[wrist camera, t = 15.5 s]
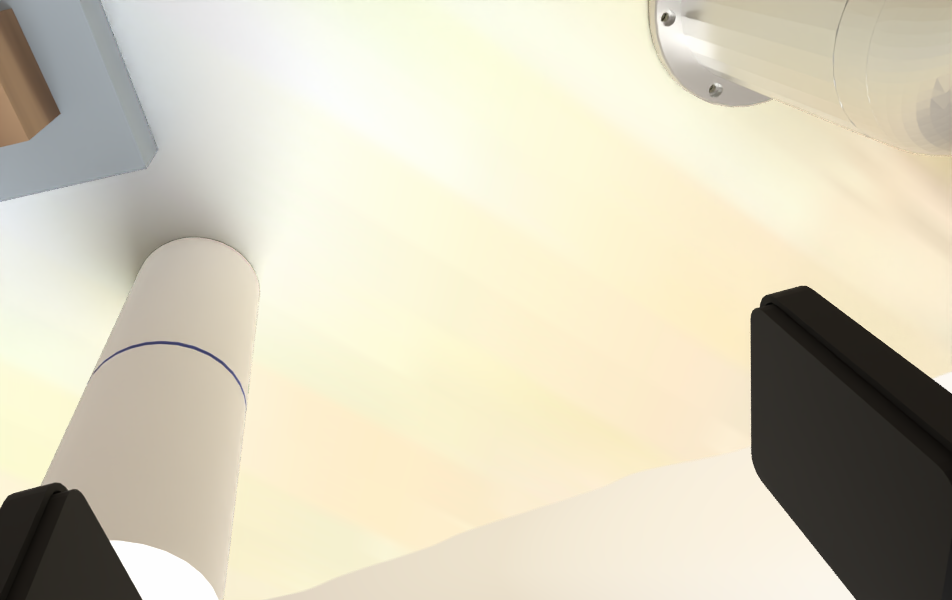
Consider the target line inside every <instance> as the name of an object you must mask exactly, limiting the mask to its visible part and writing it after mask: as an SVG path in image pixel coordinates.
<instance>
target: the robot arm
mask: <svg viewBox="0 0 952 600" xmlns="http://www.w3.org/2000/svg"><path fill="white" fill-rule="evenodd" d="M664 12H665V14H666V17H665V19H664V20H663V21H661V17H662V15H663V13H664ZM649 21H650V29H651V34H652V39H653V44H654V47H655V49H656V52H657V54H658V56H659V59H660V61H661V63H662V65H663V66H664V68H665V69H666V71H667V72H668V73H669V75H670V76H671V78H672V79H673V80H674V81H675V82H677V83H678V84H679V85H680V86H681V87H682V88H683V89H684V90H686V91H687V92H689V93H691V94H693V95H694V96H696V97H698V98H700V99H702V100H704V101H707V102H709V103H712V104H716V105H721V106H727V107H748V106H753V105H757V104H761V103H765V102H768V101H770V100H773V99H775V100H777V101H779V102H782V103H784V104H787V105H789V106H792V107H794V108H797V109H799V110H801V111H804V112H806V113H809V114H811V115H814V116H816V117H819V118H821V119H823V120H826V121H828V122H831V123H833V124H836V125H838V126H841V127H843V128H846V129H848V130H850V131H853V132H855V133H858V134H860V135H863V136H865V137H868V138H870V139H873V140H876V141H878V142H881V143H884V144H886V145H889V146H891V147H894V148H896V149H899V150H902V151H906V152H910V153H914V154H919V155H928V156H952V0H649ZM711 86H712V89H711V90H710V91H709V89H710V87H711ZM751 454H752V461H753V464H754V468H755V470H756V472H757V474H758V476H759V478H760V479H761V481H762V482H763V483H764V485H765V486H766V487H767V489H768V490H769V491H770V492H771V493H772V495H773V496H774V497H775V499H776V500H777V501H778V502H779V503H780V505H781V506H782V507H783V508H784V510H785V511H786V512H787V513H788V515H789V516H790V517H791V519H792V520H793V521H794V522H795V523H796V525H797V526H798V527H799V529H800V530H801V531H802V532H803V533H804V535H805V536H806V537H807V539H808V540H809V541H810V542H811V544H812V545H813V546H814V547H815V549H816V550H817V551H818V552H819V554H820V555H821V556H822V557H823V559H824V560H825V561H826V562H827V564H828V565H829V566H830V567H831V569H832V570H833V571H834V572H835V574H836V575H837V576H838V577H839V579H840V580H841V581H842V583H843V584H844V585H845V586H846V588H847V589H848V590H849V591H850V593H851V594H852V595H853V596H854V598H855V599H856V600H952V394H951V393H950V392H949V391H947V390H946V389H944V388H943V387H942V386H941V385H939V384H938V383H937V382H935V381H934V380H933V379H931V378H930V377H929V376H927V375H926V374H925V373H923V372H922V371H921V370H919V369H918V368H917V367H915V366H914V365H913V364H911V363H910V362H909V361H907V360H906V359H905V358H903V357H902V356H901V355H899V354H898V353H897V352H895V351H894V350H893V349H891V348H890V347H889V346H887V345H886V344H885V343H883V342H882V341H881V340H879V339H878V338H877V337H875V336H874V335H873V334H871V333H870V332H869V331H867V330H866V329H865V328H863V327H862V326H861V325H859V324H858V323H857V322H855V321H854V320H853V319H851V318H850V317H849V316H847V315H846V314H845V313H843V312H842V311H841V310H839V309H838V308H837V307H835V306H834V305H833V304H831V303H830V302H829V301H827V300H826V299H825V298H823V297H822V296H821V295H819V294H818V293H817V292H815V291H814V290H813V289H811V288H809V287H807V286H799V287H795V288H791V289H788V290H784V291H780V292H776V293H772V294H769V295H766V296H764V297H763V298H762V301H761V303H760V307H759V308H756V309H754V310H753V311H752V314H751ZM0 600H143V599H142V598H141V596H140V594H139V592H138V590H137V589H136V587H135V585H134V583H133V582H132V580H131V578H130V576H129V574H128V573H127V571H126V569H125V567H124V566H123V564H122V562H121V560H120V559H119V557H118V555H117V553H116V551H115V550H114V548H113V546H112V544H111V543H110V541H109V539H108V537H107V536H106V534H105V532H104V530H103V528H102V527H101V525H100V523H99V521H98V520H97V518H96V516H95V514H94V513H93V511H92V509H91V507H90V505H89V504H88V502H87V500H86V498H85V497H84V495H83V494H82V493H81V492H80V491H79V490H78V489H72V490H68V489H67V488H66V487H65V486H64V485H62V484H61V483H57V482H55V483H51V484H47V485H43V486H39V487H36V488H32V489H28V490H24V491H20V492H17V493H13V494H11V495H9V496H8V497H7V498H6V500H5V501H4V502H3V504H2V506H1V508H0Z"/></svg>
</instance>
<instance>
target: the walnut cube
mask: <svg viewBox="0 0 952 600" xmlns="http://www.w3.org/2000/svg"><path fill="white" fill-rule="evenodd" d="M60 114H61V113H60V111H59V109H58V107H57V104H56V102H55V100H54V98H53V96H52V94H51V91H50V89H49V87H48V85H47V83H46V81H45V78H44V76H43V74H42V72H41V70H40V68H39V65H38V63H37V61H36V59H35V57H34V55H33V52H32V50H31V48H30V46H29V44H28V42H27V40H26V37H25V35H24V33H23V31H22V29H21V27H20V24H19V22H18V20H17V18H16V16H15V14H14V11H13V9H12V8H11V9H7V10H2V11H0V147H4V146H8V145H13V144H17V143H21V142H25V141H29V140H30V139H31V138H33V137H34V136H35V135H36V134H37V133H39V132H40V131H41V130H42V129H43V128H44V127H46V126H47V125H48V124H49V123H50V122H52V121H53V120H54V119H55V118H56V117H58V116H59V115H60Z"/></svg>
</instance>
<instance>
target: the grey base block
mask: <svg viewBox="0 0 952 600" xmlns="http://www.w3.org/2000/svg"><path fill="white" fill-rule="evenodd" d="M11 8H12V9H13V11H14V14H15V16H16V18H17V20H18V22H19V24H20V27H21V29H22V31H23V33H24V35H25V37H26V40H27V42H28V44H29V46H30V48H31V50H32V52H33V55H34V57H35V59H36V61H37V63H38V65H39V68H40V70H41V72H42V74H43V76H44V78H45V81H46V83H47V85H48V87H49V89H50V91H51V94H52V96H53V98H54V100H55V102H56V104H57V107H58V109H59V111H60V113H61V114H60V115H59V116H58V117H56V118H55V119H54V120H53V121H52V122H50V123H49V124H48V125H47V126H46V127H44V128H43V129H42V130H41V131H40V132H39V133H37V134H36V135H35V136H34V137H33V138H31V139H30V140H29V141H25V142H21V143H17V144H13V145H8V146H4V147H0V202H2V201H6V200H10V199H15V198H19V197H23V196H28V195H32V194H37V193H41V192H45V191H50V190H54V189H58V188H63V187H67V186H72V185H76V184H80V183H85V182H89V181H94V180H98V179H102V178H107V177H111V176H115V175H120V174H124V173H129V172H133V171H137V170H142V169H146V168H147V167H148V165H149V164H150V162H151V161H152V159H153V157H154V156H155V154H156V152H157V151H158V148H157V146H156V143H155V140H154V138H153V135H152V133H151V130H150V128H149V125H148V122H147V120H146V117H145V115H144V112H143V110H142V107H141V104H140V102H139V99H138V97H137V94H136V91H135V89H134V86H133V84H132V81H131V79H130V76H129V73H128V71H127V68H126V66H125V63H124V61H123V58H122V55H121V53H120V50H119V48H118V45H117V43H116V40H115V37H114V35H113V32H112V30H111V27H110V25H109V22H108V19H107V17H106V14H105V12H104V9H103V7H102V4H101V1H100V0H0V11H2V10H7V9H11Z"/></svg>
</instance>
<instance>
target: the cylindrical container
mask: <svg viewBox="0 0 952 600" xmlns="http://www.w3.org/2000/svg"><path fill="white" fill-rule="evenodd" d="M259 297H260V288H259V282H258V279H257V276H256V273H255V271H254V270H253V268H252V266H251V265H250V263H249V262H248V261H247V260H246V259H245V258H244V257H243V255H241V254H240V253H239V252H237V251H236V250H235V249H233V248H232V247H230V246H228V245H226V244H224V243H222V242H219V241H215V240H212V239H208V238H199V237H191V238H182V239H177V240H173V241H171V242H169V243H166V244H164V245H162V246H161V247H159V248H158V249H156V250H155V251H153V252H152V253H151V255H150V256H149V257H148V258H147V259H146V260H145V262H144V263H143V265H142V267H141V269H140V271H139V273H138V275H137V277H136V279H135V282H134V284H133V286H132V288H131V290H130V292H129V295H128V297H127V299H126V301H125V303H124V305H123V308H122V310H121V312H120V314H119V316H118V319H117V321H116V323H115V325H114V327H113V329H112V332H111V334H110V336H109V338H108V340H107V342H106V345H105V347H104V349H103V351H102V353H101V355H100V358H99V360H98V362H97V364H96V366H95V368H94V371H93V373H92V375H91V377H90V379H89V382H88V384H87V386H86V388H85V390H84V392H83V395H82V397H81V399H80V401H79V403H78V405H77V408H76V410H75V412H74V414H73V416H72V418H71V421H70V423H69V425H68V427H67V429H66V431H65V434H64V436H63V438H62V440H61V442H60V445H59V447H58V449H57V451H56V453H55V455H54V458H53V460H52V462H51V464H50V466H49V468H48V471H47V473H46V475H45V477H44V479H43V481H42V484H41V486H43V485H47V484H51V483H55V482H57V483H61V484H62V485H64V486H65V487H66V488H67V489H68V490H72V489H78V490H79V491H80V492H81V493H82V494H83V495H84V497H85V498H86V500H87V502H88V504H89V505H90V507H91V509H92V511H93V513H94V514H95V516H96V518H97V520H98V521H99V523H100V525H101V527H102V528H103V530H104V532H105V534H106V536H107V537H108V539H109V541H110V543H111V544H112V546H113V548H114V550H115V551H116V553H117V555H118V557H119V559H120V560H121V562H122V564H123V566H124V567H125V569H126V571H127V573H128V574H129V576H130V578H131V580H132V582H133V583H134V585H135V587H136V589H137V590H138V592H139V594H140V596H141V598H142V599H143V600H224V593H225V584H226V576H227V567H228V559H229V551H230V542H231V534H232V526H233V517H234V509H235V501H236V492H237V484H238V476H239V467H240V459H241V451H242V442H243V434H244V426H245V417H246V409H247V401H248V392H249V384H250V375H251V366H252V358H253V349H254V341H255V332H256V324H257V315H258V307H259Z"/></svg>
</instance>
